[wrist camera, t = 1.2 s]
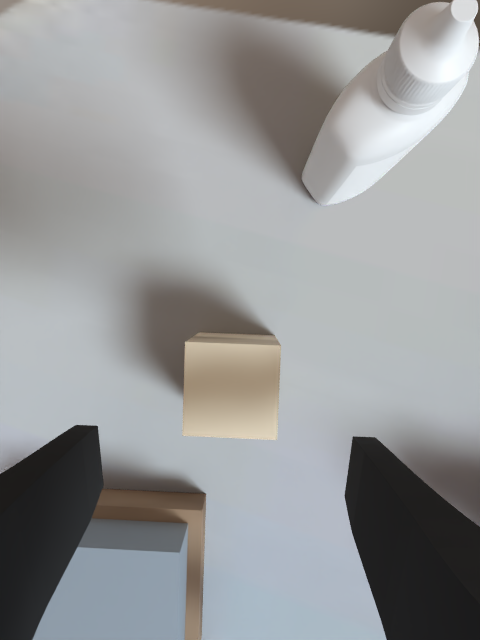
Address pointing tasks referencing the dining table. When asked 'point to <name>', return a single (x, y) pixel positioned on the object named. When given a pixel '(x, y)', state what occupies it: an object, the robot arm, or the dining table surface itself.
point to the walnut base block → (175, 511)
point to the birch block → (231, 386)
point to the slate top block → (122, 584)
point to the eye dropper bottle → (394, 101)
